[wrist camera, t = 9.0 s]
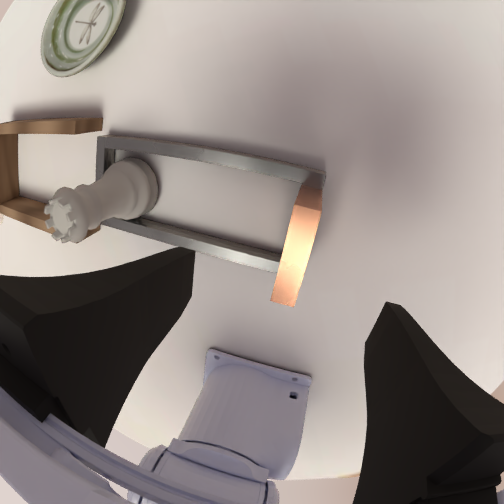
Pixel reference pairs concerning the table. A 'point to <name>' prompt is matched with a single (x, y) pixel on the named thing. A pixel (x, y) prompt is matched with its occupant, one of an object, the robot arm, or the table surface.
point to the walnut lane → (6, 165)
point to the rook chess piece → (102, 200)
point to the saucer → (78, 33)
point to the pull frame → (284, 265)
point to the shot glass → (1, 218)
